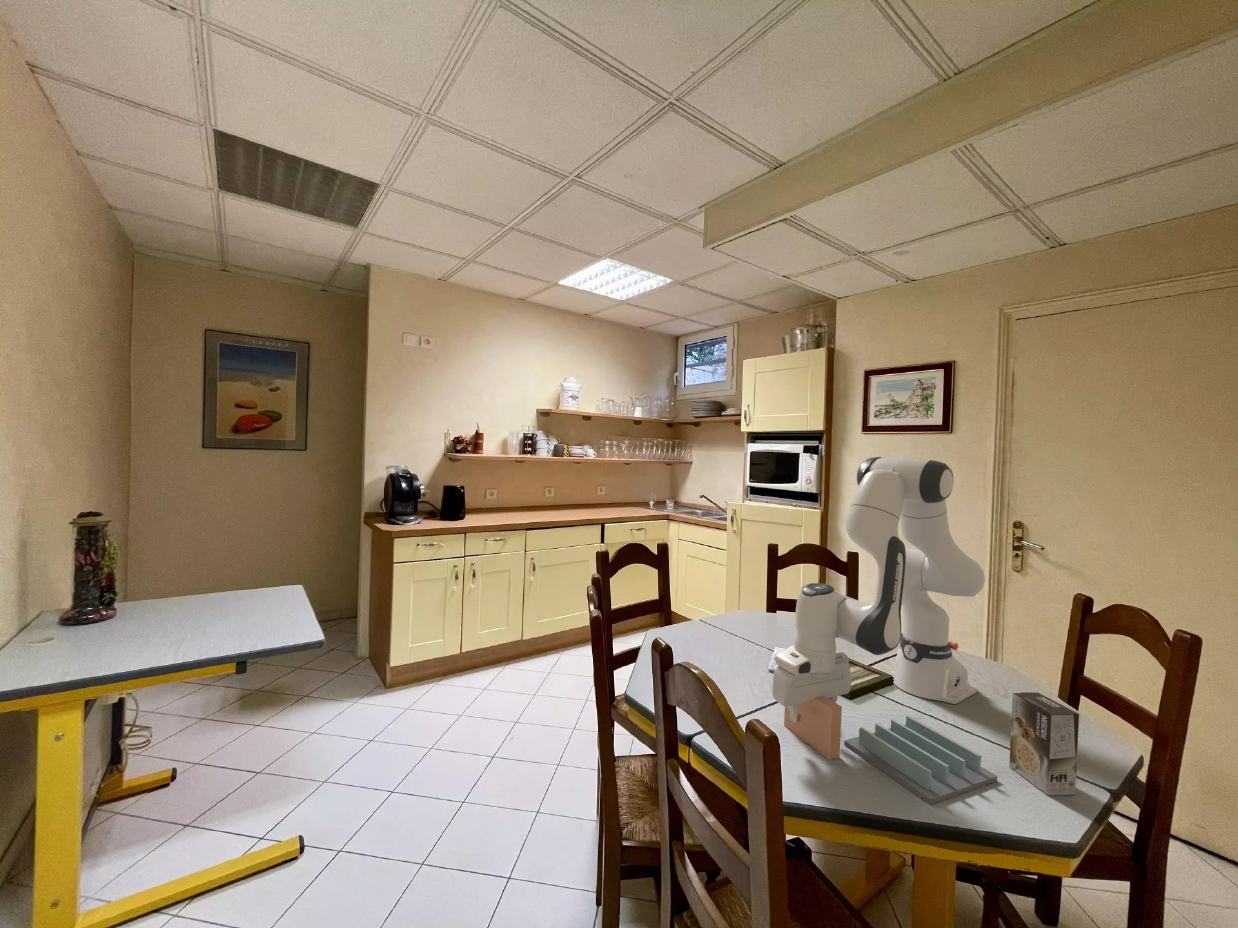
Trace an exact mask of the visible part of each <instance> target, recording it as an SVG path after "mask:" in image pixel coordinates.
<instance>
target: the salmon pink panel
mask: <svg viewBox="0 0 1238 928" xmlns="http://www.w3.org/2000/svg"><path fill="white" fill-rule="evenodd" d="M842 709H843V706H841V705H840V704H838V703H837V702H836V703H835V702H833V701H831V700H830V699H828V698H827V697H825V696H819V697H815V698H814V700H813V701H810V702H805V703H800V704H798V708H796V711H797V713H800V714H801V718H800V719H801V721H799V722H795V723H794V722H793V721H792V720H791V719H790V711H789V709H788V707H787V706H786V707H785V706H784V714H783V715H784V717H783V718H784V719H783V720H784V721H783V726H784V727H786V728H787V729H788V728H789V730H790V731H791V732H793V733H794V734H795V735H796V734H797V735H796V736H798V737H799V738H800V737H801V738H800V739H801V740H803V741H804V742H806V743H807V744H808V745H810V746H811V747H812V748H814V749H815V750H816V751H818V752H819V753H820V754H822V756H824V757H825V758H827V759H828V760H829V761H830V760H834V759H838V758H840V756H841V755H840V754H841V752H840V751H841V735H842V733H841V732H842V731H841V730H842V715H843V713H842V712H843V711H842Z"/></svg>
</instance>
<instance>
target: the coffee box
mask: <svg viewBox="0 0 1238 928" xmlns="http://www.w3.org/2000/svg"><path fill="white" fill-rule="evenodd" d="M1011 695H1012V697H1011V698H1012V699H1011V718H1010V719H1011V722H1010V738H1009V739H1010V742H1009V743H1010V744H1009V745H1010V746H1009V762H1008V763H1009V764H1008V765H1009V768H1010V769H1011V770H1013V771H1014V772H1015V773H1017V774H1018V775H1019V776H1021V777H1022V778H1024V779H1025V780H1027V781H1028V782H1029V783H1030V784H1032V785H1033V786H1034V787H1036V788H1037V789H1039V790H1040V791H1041V792H1043V793H1044V794H1045V795H1046V796H1074V795H1076V788H1077V786H1076V785H1077V768H1078V767H1077V766H1078V763H1077V762H1078V747H1079V729H1080V728H1079V726H1080V725H1079V724H1080V713H1078V712H1076V711H1074V710H1073V709H1071V708H1069V707H1067V706H1065V705H1062V704H1061V703H1059V702H1057V701H1056V700H1053V699H1052V698H1049V697H1048V696H1045V695H1044V694H1041V692H1037V691H1036V692H1035V691H1034V692H1032V691H1031V692H1029V691H1028V692H1027V691H1025V692H1012V694H1011Z"/></svg>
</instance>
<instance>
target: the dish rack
mask: <svg viewBox="0 0 1238 928" xmlns="http://www.w3.org/2000/svg"><path fill="white" fill-rule="evenodd" d="M890 720H891V721H890V728H887V727H885V726H883V725H882V724H880V723H875V727H874V728H875V729H874V732H871V731H868V730H867V729H865V728H864V727H859V728H858V736H855V737H852V738H848V739H845V740H844V741H843V744H844V746H845V747H847V748H848V749H850V750H852V751H853V752H854V753H855V754H857V755H858V756H859V757H860V758H862V759H864V760H865V761H867V762H868V763H870V764H871V765H872V766H873V767H875V768H877V770H879V771H881V772H883V773H884V774H885V775H887V776H888V777H890V778H891V779H893V780H894V781H895V782H897V783H898V784H900V785H901V786H903V787H904V788H905V789H907V790H908V791H910V792H911V793H913V794H915V795H916V796H917V797H918V798H920V799H921V800H923V801H924V802H925V803H927V804H929V805H931V806H932V805H934V804H938V803H940V802H943V801H946V800H948V799H951V798H954V797H957V796H961V795H962V794H965V793H968V792H970V791H973V790H976V789H978V788H981V787H985V786H987V785H990V784H991V783H992V784H993V783H995V782H998V775H997V774H995V773H993V772H991V771H989V770H988V769H986V768H984V767H982V766H981V764H982V755H981V754H980V753H978V752H976V751H974V750H972V749H971V748H969V747H967V746H964V745H963V744H961V743H959V742H957V741H956V740H954V739H952V738H950V737H949V736H947V735H945V734H943V733H941V732H939V731H938V730H936V729H934V728H932V727H930V726H929V725H927V724H925V723H923V722H921V721H919V720H918V719H916V718H914V717H912V716H910V715H906V719H905V724H903V723H900V722H899V721H897V720H895V719H890Z"/></svg>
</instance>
